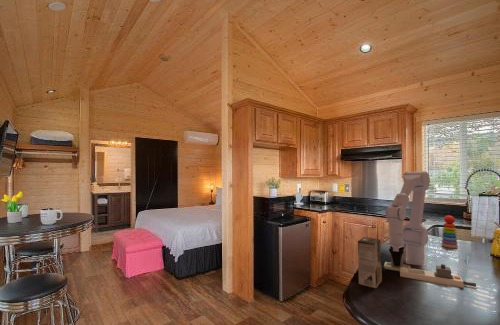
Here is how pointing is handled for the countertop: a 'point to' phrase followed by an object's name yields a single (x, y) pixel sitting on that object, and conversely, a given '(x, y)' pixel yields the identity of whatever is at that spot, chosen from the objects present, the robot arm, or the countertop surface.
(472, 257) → the countertop surface
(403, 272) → the power strip
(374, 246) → the coffee box
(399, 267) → the plug
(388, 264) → the tray
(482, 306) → the countertop surface
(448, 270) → the seated twin plug
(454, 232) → the stacking toy
